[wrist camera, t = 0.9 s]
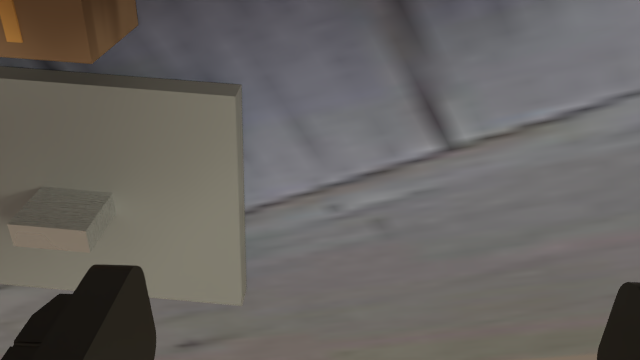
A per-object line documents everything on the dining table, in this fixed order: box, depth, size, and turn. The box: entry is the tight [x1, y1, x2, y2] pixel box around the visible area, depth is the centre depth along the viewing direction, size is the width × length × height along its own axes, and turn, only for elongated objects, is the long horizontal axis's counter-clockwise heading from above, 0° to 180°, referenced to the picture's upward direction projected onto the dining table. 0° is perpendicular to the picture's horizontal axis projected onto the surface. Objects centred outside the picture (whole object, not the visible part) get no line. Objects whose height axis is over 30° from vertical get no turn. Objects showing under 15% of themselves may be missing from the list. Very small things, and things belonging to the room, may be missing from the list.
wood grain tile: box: [7, 187, 116, 253], centre depth 30 cm, size 1×4×4 cm, turn 87°
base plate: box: [0, 66, 246, 306], centre depth 32 cm, size 14×18×2 cm
